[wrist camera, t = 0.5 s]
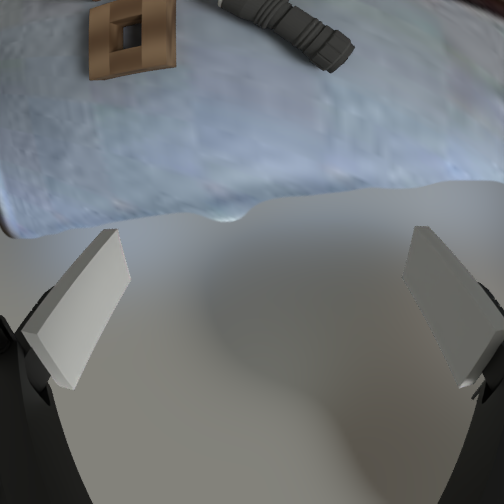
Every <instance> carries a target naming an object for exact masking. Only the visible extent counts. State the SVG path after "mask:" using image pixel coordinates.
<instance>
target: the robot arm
mask: <svg viewBox="0 0 504 504" xmlns="http://www.w3.org/2000/svg"><path fill="white" fill-rule="evenodd" d="M402 278H403V280H404V282H405V284H406V285H407V287H408V289H409V290H410V292H411V294H412V296H413V297H414V299H415V301H416V303H417V305H418V306H419V308H420V310H421V312H422V313H423V316H424V317H425V319H426V321H427V323H428V325H429V327H430V329H431V330H432V333H433V335H434V337H435V338H436V341H437V343H438V345H439V347H440V349H441V351H442V353H443V355H444V357H445V359H446V361H447V363H448V366H449V368H450V370H451V372H452V374H453V376H454V379H455V381H456V383H457V386H458V388H461V387H465V386H468V385H472V384H474V383H475V382H476V380H477V379H478V378H479V376H480V375H481V374H482V373H483V375H484V377H485V380H484V382H483V383H482V385H481V386H480V387H479V388H478V389H477V391H476V392H475V393H474V394H473V396H472V398H471V399H474V398H475V397H476V396H477V395H478V394H479V396H478V400H477V404H476V408H475V411H474V415H473V417H472V421H471V424H470V427H469V430H468V433H467V436H466V439H465V442H464V445H463V448H462V450H461V453H460V455H459V458H458V461H457V463H456V465H455V468H454V470H453V472H452V475H451V477H450V479H449V481H448V483H447V486H446V488H445V490H444V492H443V494H442V496H441V498H440V500H439V502H438V504H504V310H503V308H502V307H500V304H499V303H498V302H497V300H495V298H494V296H493V295H492V294H491V293H490V292H489V290H488V289H487V288H485V287H484V286H483V285H482V284H481V283H479V282H477V281H476V280H475V279H474V277H473V276H472V275H471V274H470V272H468V270H467V269H466V268H465V267H464V265H463V264H462V263H461V262H460V261H459V260H458V258H457V257H456V256H455V255H454V254H453V253H452V251H451V250H450V249H449V248H448V247H447V246H446V245H445V244H444V243H443V242H442V240H441V239H440V238H439V237H438V236H437V235H436V234H435V233H434V232H433V231H432V230H431V229H430V228H429V227H426V226H423V227H422V226H415V228H414V232H413V237H412V241H411V245H410V249H409V253H408V257H407V261H406V265H405V269H404V272H403V276H402ZM130 281H131V277H130V274H129V270H128V267H127V263H126V259H125V256H124V252H123V248H122V244H121V240H120V236H119V232H118V229H104V230H103V231H102V232H101V233H100V234H99V235H98V236H97V237H96V238H95V239H94V240H93V241H92V243H91V244H90V245H89V246H88V247H87V248H86V249H85V250H84V251H83V253H82V254H81V255H80V256H79V257H78V258H77V259H76V261H75V262H74V263H73V264H72V265H71V267H70V268H69V269H68V270H67V271H66V273H65V274H64V275H63V276H62V277H61V279H60V280H59V281H58V282H57V284H56V285H55V286H53V287H52V288H51V289H49V290H48V291H47V292H45V293H44V294H43V296H42V297H41V298H40V299H39V301H38V304H36V305H35V306H34V307H33V309H32V311H30V313H29V314H28V316H27V317H26V318H25V319H24V321H23V322H22V324H21V325H20V327H19V328H18V329H17V331H16V332H15V333H13V331H12V330H11V328H10V326H9V324H8V323H7V321H6V319H5V318H4V317H3V316H2V315H0V504H93V503H92V501H91V499H90V497H89V495H88V493H87V490H86V488H85V486H84V484H83V482H82V480H81V477H80V475H79V472H78V470H77V467H76V465H75V462H74V460H73V457H72V455H71V452H70V449H69V447H68V444H67V441H66V438H65V435H64V432H63V429H62V426H61V422H60V419H59V416H58V412H57V409H56V405H55V401H54V397H53V393H52V390H51V387H50V385H49V384H48V380H49V378H50V376H51V377H52V378H53V380H54V381H55V382H56V384H57V385H58V386H61V387H64V388H68V389H72V390H74V389H75V387H76V385H77V383H78V381H79V378H80V376H81V374H82V372H83V370H84V368H85V366H86V364H87V361H88V359H89V357H90V355H91V353H92V351H93V349H94V347H95V345H96V343H97V341H98V339H99V337H100V335H101V334H102V332H103V330H104V328H105V326H106V324H107V322H108V320H109V318H110V316H111V315H112V313H113V311H114V309H115V307H116V306H117V304H118V302H119V300H120V298H121V296H122V295H123V293H124V291H125V290H126V288H127V286H128V284H129V283H130Z"/></svg>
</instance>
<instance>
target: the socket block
mask: <svg viewBox="0 0 504 504" xmlns="http://www.w3.org/2000/svg"><path fill="white" fill-rule="evenodd" d="M139 23H142V46H137V47H132V48H128V49H124V50H123V27H126V26H130V25H135V24H139ZM174 67H176V0H117V1H113V2H110V3H107V4H104V5H101V6H98V7H95V8H92V9H90V15H89V80H107V79H111V78H116V77H121V76H125V75H130V74H136V73H141V72H147V71H153V70H159V69H166V68H174Z"/></svg>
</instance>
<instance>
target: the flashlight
mask: <svg viewBox="0 0 504 504" xmlns="http://www.w3.org/2000/svg"><path fill="white" fill-rule="evenodd" d="M288 2H289V0H219V1H218V6H219V7H221V8H223V9H225V10H227V11H228V12H230V13H232V14H234V15H236V16H238V17H240V18H242V19H246V20H249V21H252V22H253V23H254V24H257V25H258V26H261V28H262V29H266V28H267V27H269V28H270V29H274V32H275V33H276V34H278V35H280V36H281V37H283V38H284V39H286V40H287V41H289V42H290V43H292V45H293V46H294V47H297V49H300V50H302V51H303V53H304V54H305V55H306V56H308V57H309V59H310V61H311V62H312V63H313V64H315V65H316V66H317V67H319V68H320V69H321V70H323V71H324V70H327V71H328V72H329V73H332V72H334V71H335V70H336V69H337V68H339V67H340V66H341V65H342V64H343V63H344V62H345V61H346V60H347V59H348V57H349V56H350V54H351V53H352V52H353V50H354V48H355V46H353V45H352V44H351V41H350V39H349V38H347V37H346V36H345V35H344V34H342V33H341V32H340V31H338V30H333V29H332V28H330V27H329V26H327V25H326V26H325V25H323V24H322V22H321V21H319V20H318V19H317V18H313V17H312V16H310V15H309V14H307V13H306V12H304V11H303V10H301V9H300V8H298V7H297V6H294V7H292V4H290V3H288Z"/></svg>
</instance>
